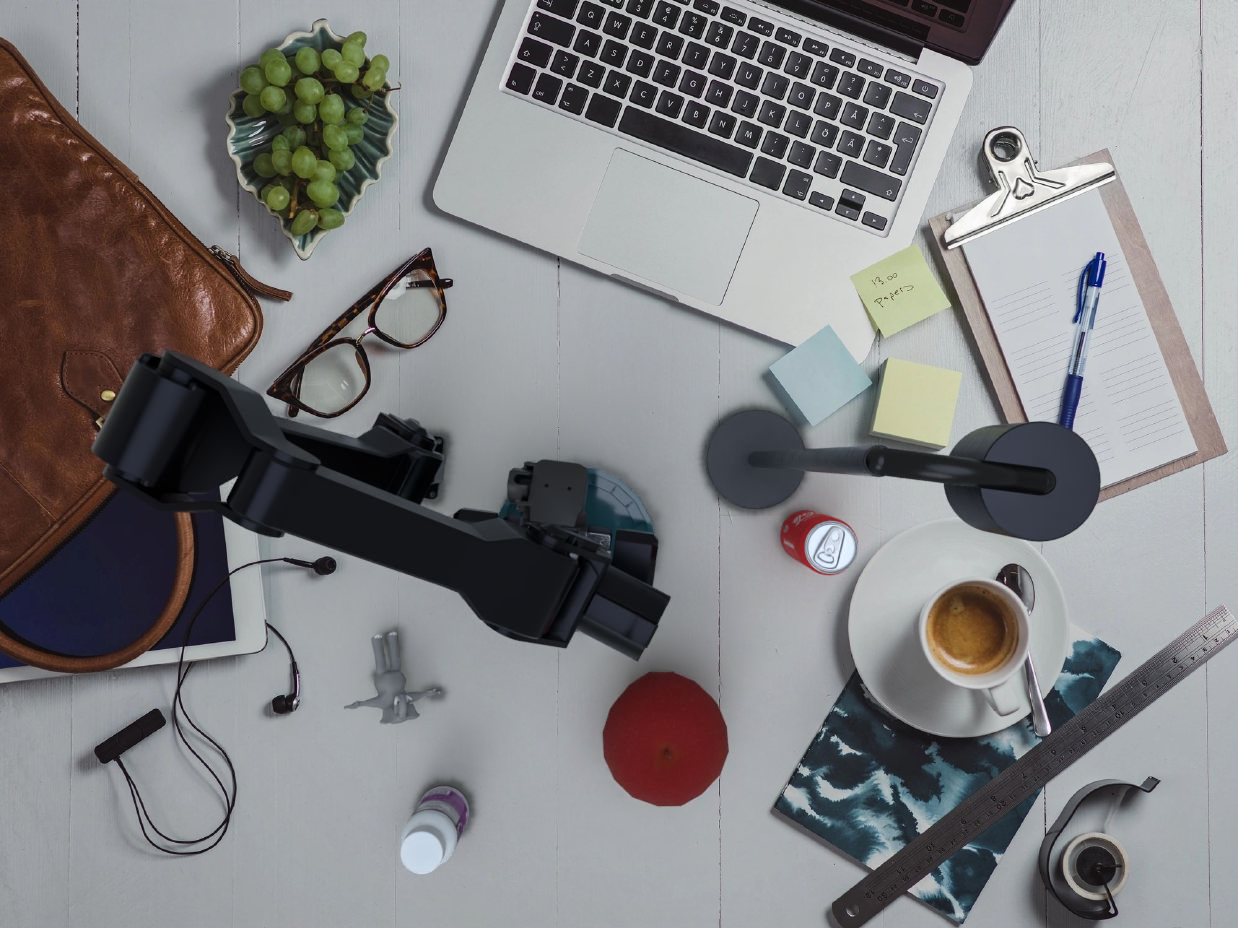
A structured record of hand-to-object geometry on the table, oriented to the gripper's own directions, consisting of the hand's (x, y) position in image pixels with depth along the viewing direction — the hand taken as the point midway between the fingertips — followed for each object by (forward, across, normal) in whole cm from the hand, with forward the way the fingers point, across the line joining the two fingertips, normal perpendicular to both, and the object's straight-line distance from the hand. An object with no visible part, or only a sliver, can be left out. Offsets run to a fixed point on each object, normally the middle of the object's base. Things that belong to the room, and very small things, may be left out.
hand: (561, 544), depth 84 cm
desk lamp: (+2, -21, -11) cm, 24 cm away
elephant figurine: (+2, +16, +16) cm, 22 cm away
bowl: (+2, -1, 0) cm, 2 cm away
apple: (+2, -12, +16) cm, 20 cm away
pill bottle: (+2, +9, +29) cm, 30 cm away
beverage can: (+2, -24, -4) cm, 25 cm away
